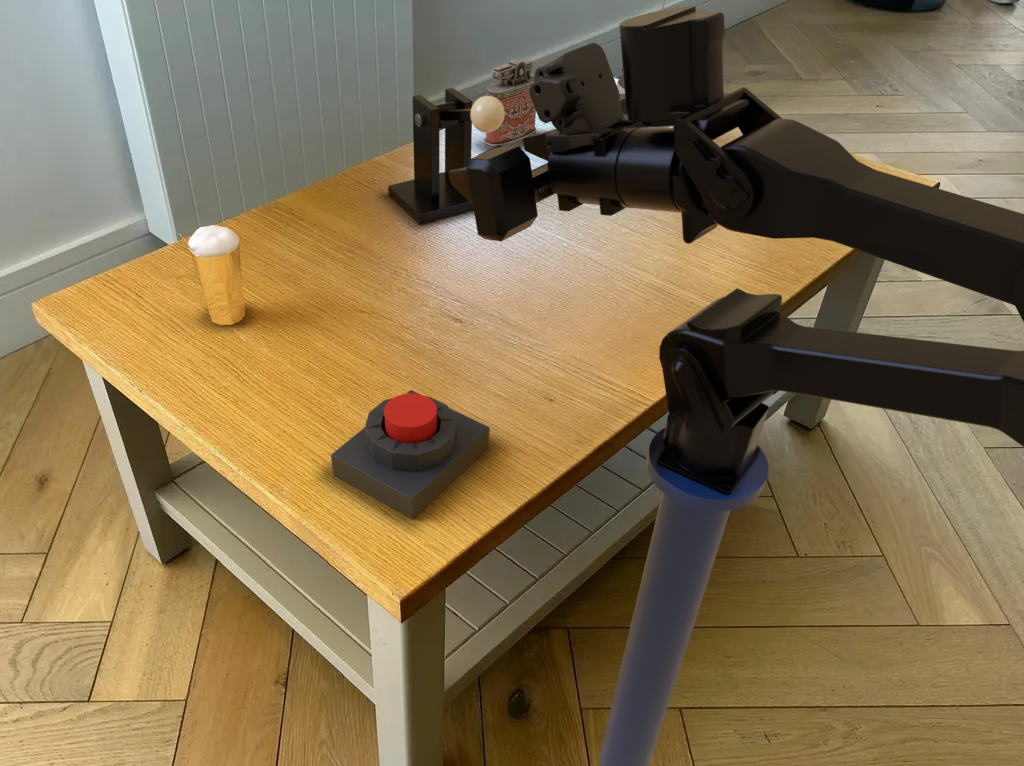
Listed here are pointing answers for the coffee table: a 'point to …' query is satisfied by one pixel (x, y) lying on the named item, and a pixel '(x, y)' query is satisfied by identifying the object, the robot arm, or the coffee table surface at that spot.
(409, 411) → the button
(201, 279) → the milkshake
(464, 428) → the control block
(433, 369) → the coffee table surface
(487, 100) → the lever
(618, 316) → the coffee table surface
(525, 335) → the coffee table surface
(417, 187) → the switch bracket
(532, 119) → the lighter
